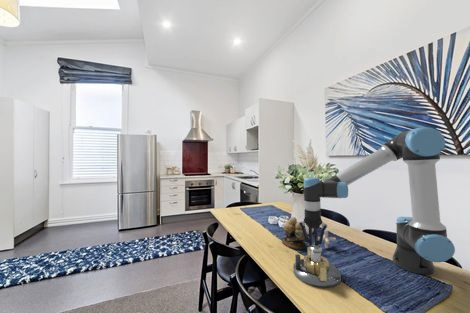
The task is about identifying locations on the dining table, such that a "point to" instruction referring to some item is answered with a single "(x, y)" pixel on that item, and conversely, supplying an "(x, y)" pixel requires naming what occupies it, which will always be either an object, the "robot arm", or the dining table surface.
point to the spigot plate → (313, 279)
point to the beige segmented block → (317, 266)
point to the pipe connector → (327, 239)
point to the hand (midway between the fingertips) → (314, 257)
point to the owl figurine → (294, 235)
